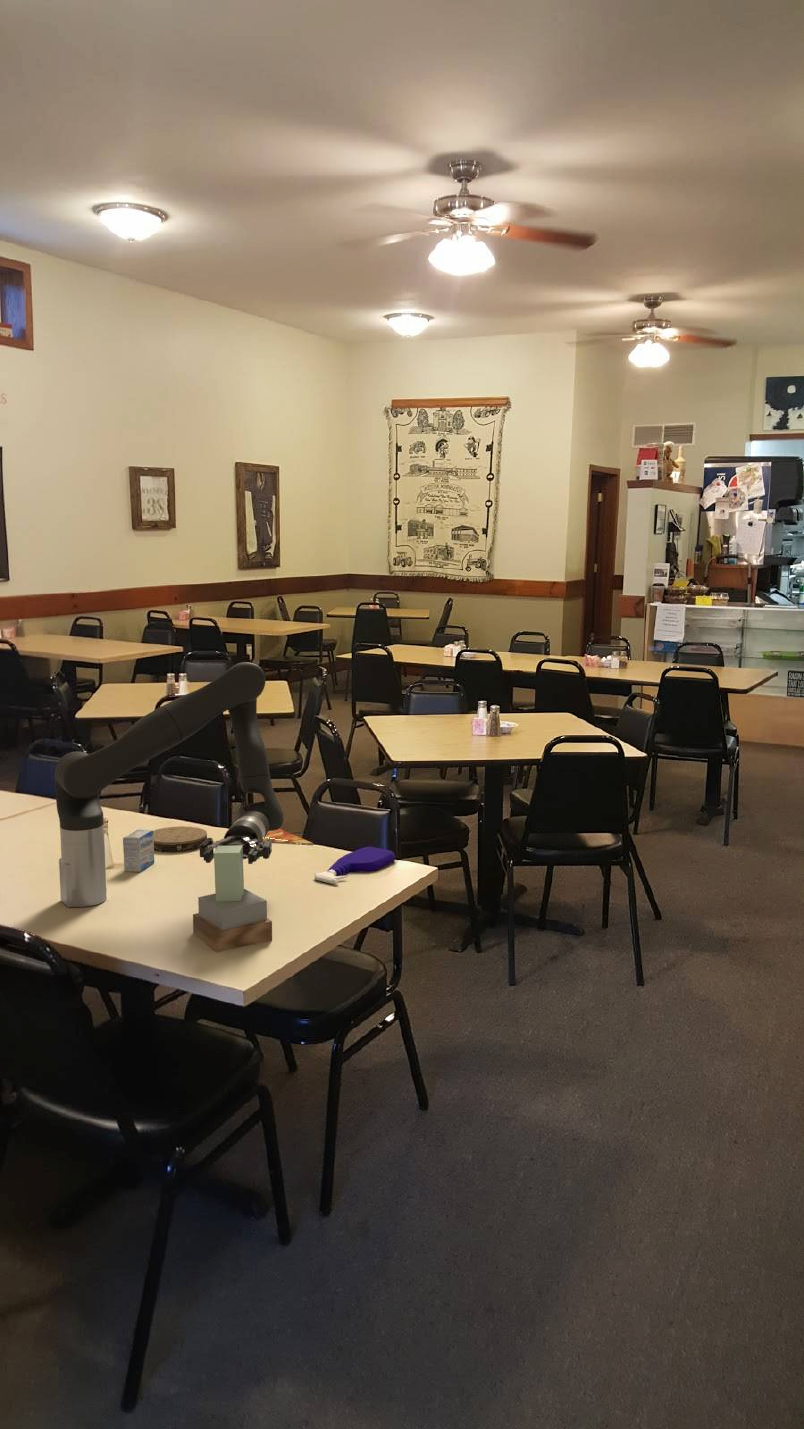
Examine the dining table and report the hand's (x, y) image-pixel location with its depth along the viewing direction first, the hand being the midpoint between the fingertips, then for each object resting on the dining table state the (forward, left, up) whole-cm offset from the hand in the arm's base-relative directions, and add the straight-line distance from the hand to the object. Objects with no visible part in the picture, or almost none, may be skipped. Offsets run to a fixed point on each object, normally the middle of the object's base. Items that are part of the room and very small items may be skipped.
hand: (228, 858), depth 200 cm
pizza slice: (+36, +62, -17) cm, 74 cm away
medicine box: (-1, +55, -17) cm, 58 cm away
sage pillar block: (+1, +1, -8) cm, 9 cm away
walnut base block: (+1, +1, -17) cm, 17 cm away
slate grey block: (+1, 0, -12) cm, 13 cm away
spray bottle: (+43, +27, -17) cm, 54 cm away
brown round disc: (+14, +70, -17) cm, 74 cm away
